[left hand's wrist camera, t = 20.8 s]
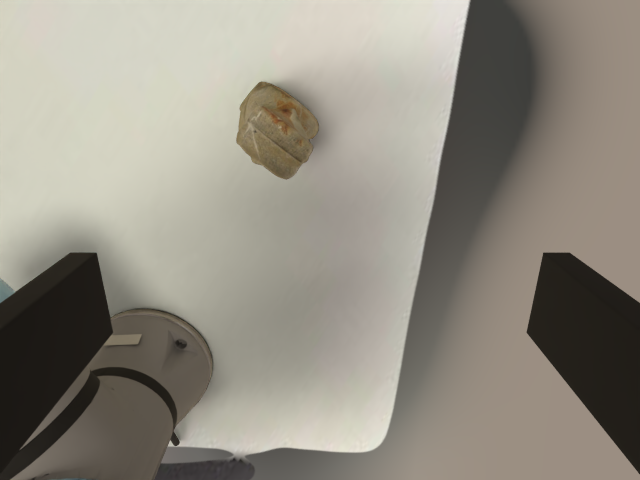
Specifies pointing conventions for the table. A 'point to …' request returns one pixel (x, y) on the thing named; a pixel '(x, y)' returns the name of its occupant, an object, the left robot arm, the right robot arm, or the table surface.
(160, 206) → the table surface
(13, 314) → the left robot arm
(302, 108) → the sculpture
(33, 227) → the table surface
